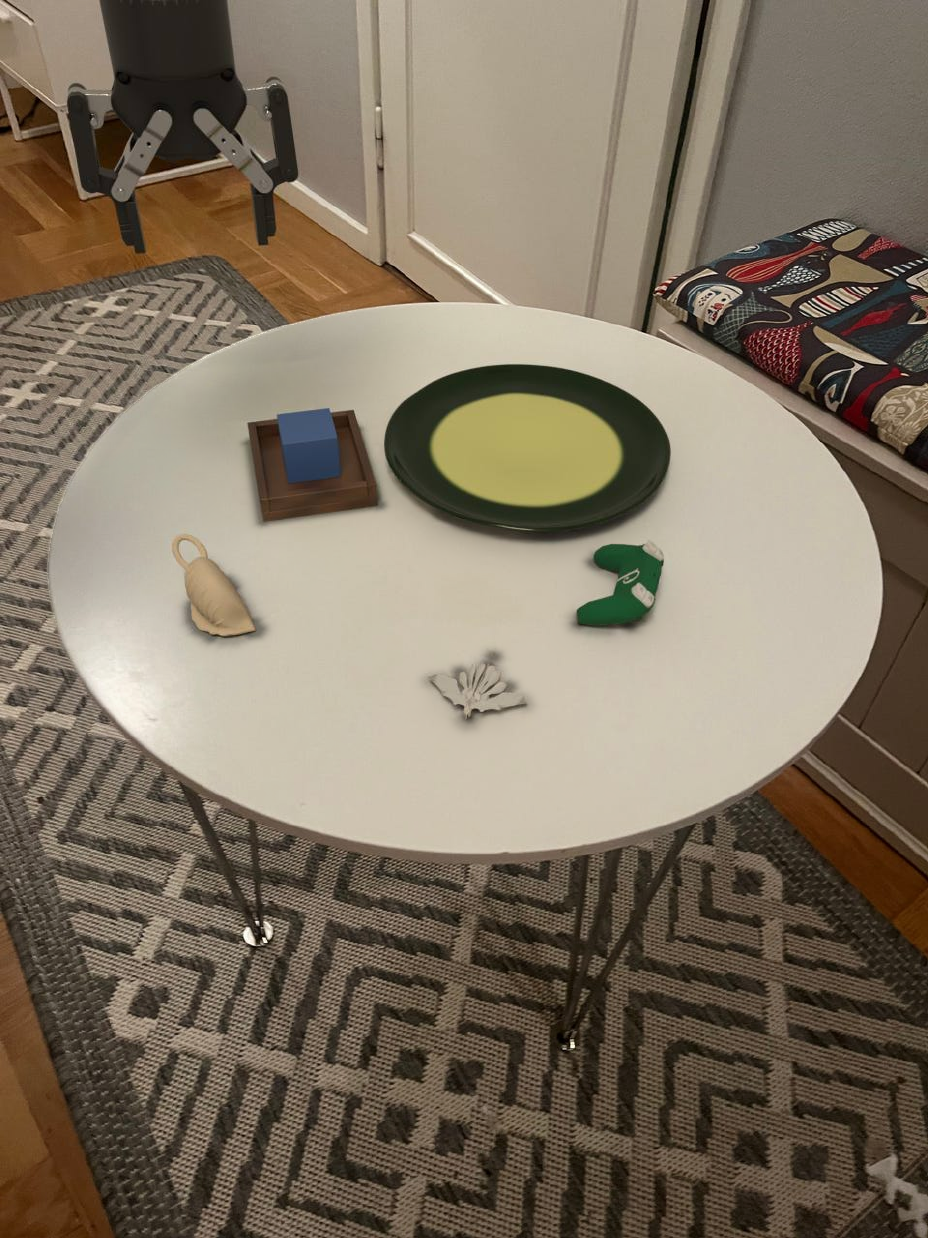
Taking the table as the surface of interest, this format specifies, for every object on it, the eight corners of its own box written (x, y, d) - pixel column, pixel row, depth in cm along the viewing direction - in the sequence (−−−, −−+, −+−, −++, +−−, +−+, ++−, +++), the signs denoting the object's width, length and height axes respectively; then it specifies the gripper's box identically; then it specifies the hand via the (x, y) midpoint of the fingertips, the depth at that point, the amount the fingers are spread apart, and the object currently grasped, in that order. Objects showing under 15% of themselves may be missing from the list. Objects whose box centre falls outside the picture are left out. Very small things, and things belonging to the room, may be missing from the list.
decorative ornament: (208, 649, 76) (196, 601, 72) (176, 585, 81) (163, 537, 77) (256, 632, 77) (247, 584, 73) (222, 570, 82) (212, 522, 78)
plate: (453, 583, 82) (453, 562, 80) (345, 415, 99) (343, 394, 98) (724, 504, 90) (729, 483, 88) (580, 361, 108) (582, 341, 106)
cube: (288, 484, 89) (282, 444, 86) (282, 453, 93) (276, 413, 90) (341, 477, 90) (337, 437, 87) (333, 446, 94) (329, 407, 90)
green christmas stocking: (597, 648, 79) (657, 624, 75) (569, 618, 78) (629, 592, 74) (618, 576, 85) (674, 551, 82) (592, 547, 84) (648, 520, 80)
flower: (446, 652, 77) (448, 625, 76) (541, 676, 76) (545, 649, 74) (414, 710, 72) (415, 682, 70) (516, 737, 70) (520, 709, 68)
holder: (263, 521, 87) (259, 500, 85) (250, 443, 96) (247, 422, 94) (377, 505, 89) (376, 484, 87) (355, 430, 97) (353, 409, 96)
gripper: (31, -5, 53) (98, 276, 64) (288, -9, 56) (309, 260, 67) (37, -35, 58) (99, 230, 69) (273, -37, 61) (295, 217, 72)
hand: (202, 245), depth 68 cm, fingers open, 8 cm apart
